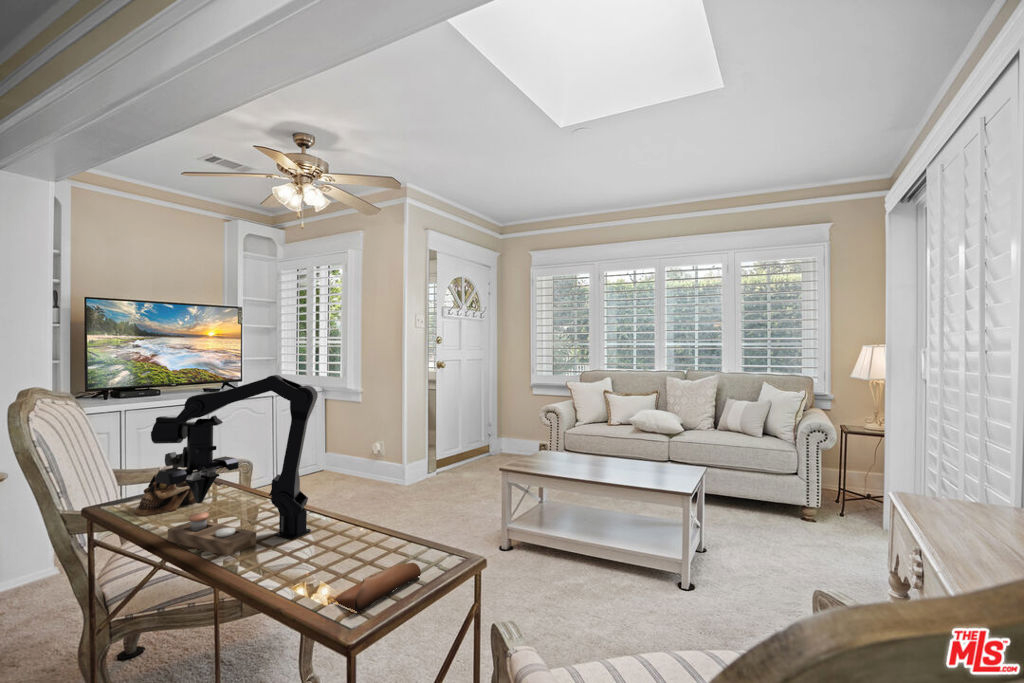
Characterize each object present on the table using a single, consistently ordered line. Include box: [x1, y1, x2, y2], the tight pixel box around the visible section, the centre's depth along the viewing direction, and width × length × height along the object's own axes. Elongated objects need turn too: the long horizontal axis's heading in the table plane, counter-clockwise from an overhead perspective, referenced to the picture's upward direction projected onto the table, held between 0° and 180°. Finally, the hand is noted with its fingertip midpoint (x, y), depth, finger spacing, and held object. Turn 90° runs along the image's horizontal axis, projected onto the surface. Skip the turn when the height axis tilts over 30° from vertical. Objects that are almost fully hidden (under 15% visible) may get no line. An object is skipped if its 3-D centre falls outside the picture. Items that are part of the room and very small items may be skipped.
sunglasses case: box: [334, 562, 422, 613], centre depth 104 cm, size 18×7×7 cm
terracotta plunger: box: [188, 511, 210, 532], centre depth 130 cm, size 4×4×4 cm
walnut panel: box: [167, 520, 257, 557], centre depth 128 cm, size 22×8×3 cm, turn 67°
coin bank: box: [132, 465, 197, 516], centre depth 156 cm, size 16×17×13 cm
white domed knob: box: [215, 527, 236, 539], centre depth 126 cm, size 4×4×4 cm
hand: (199, 503), depth 130 cm, fingers closed
